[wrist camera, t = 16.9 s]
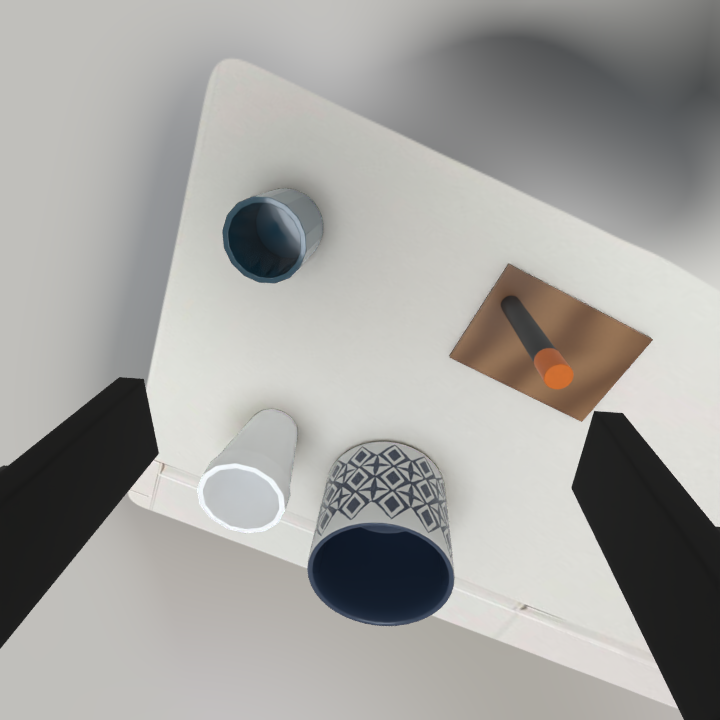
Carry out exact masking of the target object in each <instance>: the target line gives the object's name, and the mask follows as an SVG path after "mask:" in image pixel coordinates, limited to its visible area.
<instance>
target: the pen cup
mask: <svg viewBox="0 0 720 720" xmlns="http://www.w3.org/2000/svg"><path fill="white" fill-rule="evenodd" d="M322 234H323V221H322V216H321V213H320V211H319V209H318V207H317V206H316V204H315V203H314V202H313V201H312V200H311V199H310V198H309V197H308V196H307V195H305V194H304V193H302V192H300V191H298V190H294V189H289V188H282V189H275V190H272V191H269V192H266V193H263V194H259V195H256V196H253V197H250V198H248V199H246V200H243V201H241V202H239V203H237V204H236V205H235V207H234V208H233V209H232V210H231V211H230V212H229V213H228V215H227V217H226V220H225V224H224V227H223V242H224V249H225V251H226V253H227V255H228V257H229V259H230V261H231V263H232V264H233V265H234V266H235V267H236V268H237V269H238V270H239V271H240V272H241V273H242V274H243V275H244V276H246V277H248V278H250V279H253V280H255V281H257V282H261V283H277V282H280V281H283V280H285V279H288V278H290V277H291V276H292V275H293V274H294V273H295V272H296V271H297V270H298V269H299V268H300V267H301V266H302V265H303V264H304V263H305V261H306V260H307V259H308V258H309V257H310V256H311V255H312V254H313V252H314V251H315V250H316V249H317V247H318V245H319V243H320V241H321V238H322Z"/></svg>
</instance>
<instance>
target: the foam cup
mask: <svg viewBox="0 0 720 720" xmlns="http://www.w3.org/2000/svg"><path fill="white" fill-rule="evenodd" d="M297 436H298V432H297V425H296V424H295V422H294V420H293V419H292V417H290V416H289V415H287V414H286V413H284V412H283V411H279V410H275V409H267V410H262V411H260V412H259V413H257V414H256V415H254V417H253V418H252V419H251V420H250V421H249V422H248V423H247V424H246V425H245V426H244V428H243V429H242V430H241V431H240V432H239V433H238V434H237V435H236V437H235V438H234V439H233V440H232V441H231V442H230V443H229V444H228V446H227V447H226V448H225V449H224V450H223V451H222V452H221V453H220V455H219V456H218V457H216V458H215V459H213V460H212V461H211V462H210V464H209V466H208V467H207V469H206V470H205V472H204V474H203V475H202V478H201V480H200V483H199V485H198V488H197V492H198V497H199V502H200V505H201V507H202V508H203V509H204V510H205V512H206V513H207V514H208V515H209V517H210V518H211V519H212V520H214V521H216V522H217V523H219V524H220V525H222V526H224V527H225V528H227V529H231V530H235V531H239V532H243V533H253V532H263V531H266V530H267V529H269V528H271V527H273V526H274V525H276V524H278V522H279V521H280V519H281V517H282V515H283V513H284V511H285V509H286V506H287V503H288V500H289V497H290V482H291V476H292V469H293V463H294V457H295V450H296V444H297Z"/></svg>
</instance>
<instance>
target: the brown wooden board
mask: <svg viewBox="0 0 720 720" xmlns="http://www.w3.org/2000/svg"><path fill="white" fill-rule="evenodd" d="M507 296H516V297H517V298H518V299H519V300H520V301H521V303H522V304H523V305H524V307H525V308H526V309H527V311H528V312H529V313H530V315H531V316H532V317H533V319H534V320H535V321H536V323H537V324H538V325H539V327H540V328H541V330H542V331H543V332H544V334H545V335H546V336H547V338H548V339H549V340H550V342H551V343H552V344H553V346H554V347H555V348H556V350H557V351H559V353H560V354H561V355H562V357H563V358H564V359H565V361H566V362H567V363H568V365H569V366H570V367H571V369H572V370H573V373H574V377H573V380H572V382H571V383H570V384H569V385H568V386H567V387H565V388H562V389H552V388H549V387H548V386H547V385H546V384H545V382H544V381H543V379H542V377H541V376H540V374H539V372H538V371H537V369H536V367H535V365H534V363H533V361H532V359H531V357H530V356H529V354H528V352H527V351H526V349H525V347H524V346H523V344H522V342H521V341H520V339H519V337H518V336H517V334H516V332H515V331H514V329H513V327H512V325H511V324H510V322H509V320H508V319H507V317H506V315H505V314H504V312H503V310H502V308H501V302H502V300H503V299H504V298H505V297H507ZM652 340H653V339H651V338H650V337H648V336H646V335H644V334H642V333H640V332H638V331H636V330H634V329H633V328H631V327H629V326H627V325H625V324H623V323H621V322H619V321H617V320H615V319H613V318H612V317H610V316H608V315H606V314H604V313H602V312H600V311H598V310H596V309H594V308H592V307H590V306H589V305H587V304H585V303H583V302H581V301H579V300H577V299H575V298H573V297H571V296H569V295H567V294H566V293H564V292H562V291H560V290H558V289H556V288H554V287H552V286H550V285H548V284H546V283H545V282H543V281H541V280H539V279H537V278H535V277H533V276H531V275H529V274H527V273H525V272H523V271H522V270H520V269H518V268H516V267H514V266H512V265H510V264H508V265H507V267H506V268H505V270H504V272H503V273H502V275H501V276H500V278H499V279H498V281H497V282H496V284H495V286H494V287H493V289H492V290H491V292H490V293H489V295H488V296H487V298H486V300H485V301H484V303H483V304H482V306H481V307H480V309H479V310H478V312H477V314H476V315H475V317H474V318H473V320H472V321H471V323H470V324H469V326H468V328H467V329H466V331H465V332H464V334H463V335H462V337H461V339H460V340H459V342H458V343H457V345H456V346H455V348H454V349H453V351H452V353H451V354H450V358H452V359H454V360H456V361H458V362H460V363H462V364H464V365H466V366H469V367H471V368H473V369H475V370H477V371H479V372H481V373H483V374H485V375H487V376H489V377H491V378H493V379H495V380H497V381H499V382H501V383H503V384H505V385H507V386H510V387H512V388H514V389H516V390H518V391H520V392H522V393H524V394H526V395H528V396H530V397H532V398H534V399H536V400H538V401H540V402H542V403H544V404H546V405H548V406H551V407H553V408H555V409H557V410H559V411H561V412H563V413H565V414H567V415H569V416H571V417H573V418H575V419H577V420H579V421H581V422H582V421H583V420H584V419H585V418H586V417H587V415H588V414H589V413H590V412H591V411H592V410H593V408H594V407H595V406H596V405H597V404H598V403H599V401H600V400H601V399H602V398H603V397H604V396H605V395H606V393H607V392H608V391H609V390H610V389H611V388H612V386H613V385H614V384H615V383H616V382H617V381H618V380H619V378H620V377H621V376H622V375H623V374H624V373H625V371H626V370H627V369H628V368H629V367H630V366H631V364H632V363H633V362H634V361H635V360H636V359H637V358H638V356H639V355H640V354H641V353H642V352H643V351H644V349H645V348H646V347H647V346H648V345H649V344H650V343H651V341H652Z"/></svg>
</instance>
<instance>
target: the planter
mask: <svg viewBox="0 0 720 720" xmlns="http://www.w3.org/2000/svg"><path fill="white" fill-rule="evenodd" d="M307 570H308V578H309V580H310V583H311V586H312V588H313V590H314V591H315V593H316V594H317V596H318V597H319V598H320V599H321V600H322V601H323V602H324V603H325V604H326V605H327V606H328V607H330V608H331V609H332V610H334V611H335V612H337V613H339V614H341V615H343V616H345V617H347V618H349V619H352V620H355V621H358V622H362V623H365V624H371V625H379V626H397V625H404V624H410V623H413V622H417V621H419V620H422V619H424V618H427V617H428V616H430V615H432V614H434V613H435V612H436V611H438V610H439V609H440V608H441V607H442V606H443V605H444V604H445V603H446V602H447V600H448V598H449V597H450V595H451V593H452V590H453V587H454V578H455V576H454V565H453V556H452V547H451V538H450V529H449V520H448V511H447V503H446V494H445V487H444V481H443V478H442V475H441V473H440V472H439V470H438V468H437V467H436V465H435V464H434V463H433V462H432V461H431V460H430V459H429V458H428V457H427V456H425V455H424V454H423V453H421V452H419V451H418V450H416V449H414V448H411V447H409V446H406V445H403V444H399V443H393V442H371V443H367V444H363V445H360V446H357V447H355V448H352V449H351V450H349V451H347V452H346V453H344V454H343V455H342V456H341V457H340V458H339V459H338V460H337V461H336V462H335V463H334V465H333V467H332V468H331V470H330V473H329V476H328V479H327V483H326V487H325V491H324V495H323V500H322V504H321V508H320V512H319V516H318V520H317V525H316V529H315V533H314V537H313V541H312V546H311V550H310V555H309V559H308V567H307Z"/></svg>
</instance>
